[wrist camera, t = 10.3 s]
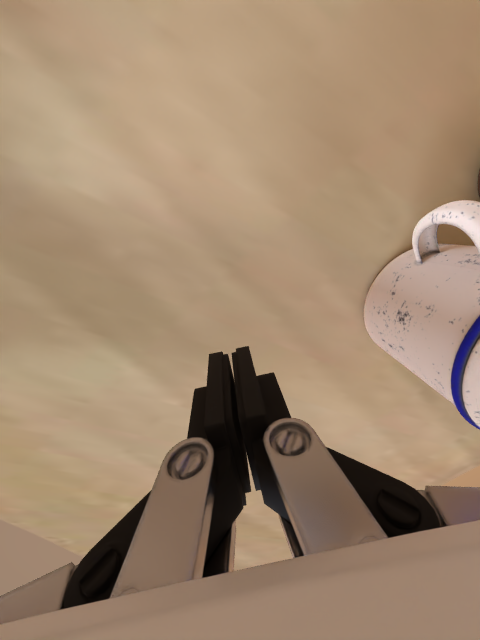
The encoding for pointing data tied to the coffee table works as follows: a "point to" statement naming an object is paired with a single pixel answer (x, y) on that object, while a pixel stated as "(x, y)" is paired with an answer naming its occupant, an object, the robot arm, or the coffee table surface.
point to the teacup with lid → (434, 308)
